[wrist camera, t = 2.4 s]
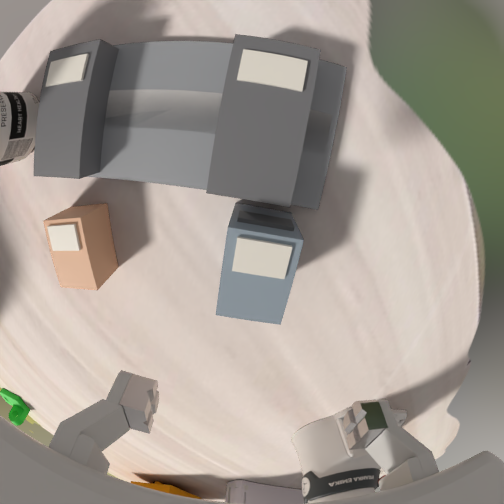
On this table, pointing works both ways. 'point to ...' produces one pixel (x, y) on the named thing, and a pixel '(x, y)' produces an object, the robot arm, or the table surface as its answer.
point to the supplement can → (17, 125)
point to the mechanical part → (15, 407)
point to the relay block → (82, 246)
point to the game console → (261, 494)
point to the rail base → (193, 116)
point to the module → (258, 264)
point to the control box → (166, 489)
